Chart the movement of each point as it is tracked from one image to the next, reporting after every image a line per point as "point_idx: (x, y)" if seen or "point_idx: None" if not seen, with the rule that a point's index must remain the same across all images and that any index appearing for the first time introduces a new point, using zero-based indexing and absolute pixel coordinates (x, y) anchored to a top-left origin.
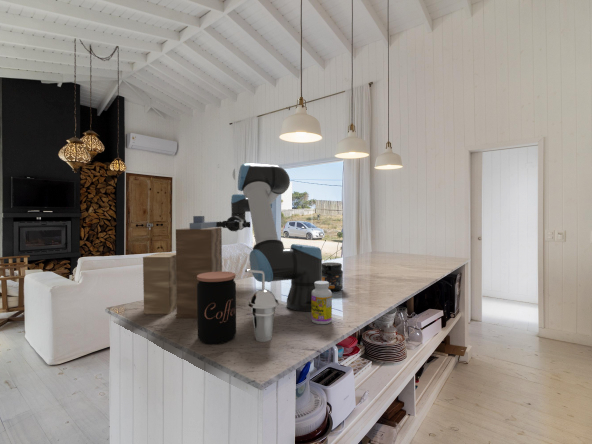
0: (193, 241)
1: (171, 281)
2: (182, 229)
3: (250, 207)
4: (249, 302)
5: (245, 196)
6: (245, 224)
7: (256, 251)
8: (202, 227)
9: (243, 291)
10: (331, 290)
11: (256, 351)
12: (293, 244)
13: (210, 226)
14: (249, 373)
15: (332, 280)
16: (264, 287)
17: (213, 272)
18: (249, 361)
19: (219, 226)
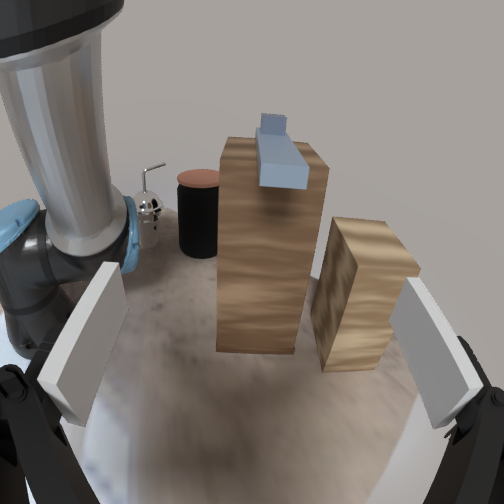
0: None
1: (324, 274)
2: (292, 141)
3: (102, 97)
4: (162, 203)
5: (98, 30)
6: (42, 358)
7: (127, 196)
8: (255, 139)
9: (172, 484)
10: None
11: (160, 228)
12: (32, 205)
13: (257, 156)
14: (169, 211)
15: None
16: (143, 188)
17: (208, 181)
18: (168, 220)
19: (427, 501)
